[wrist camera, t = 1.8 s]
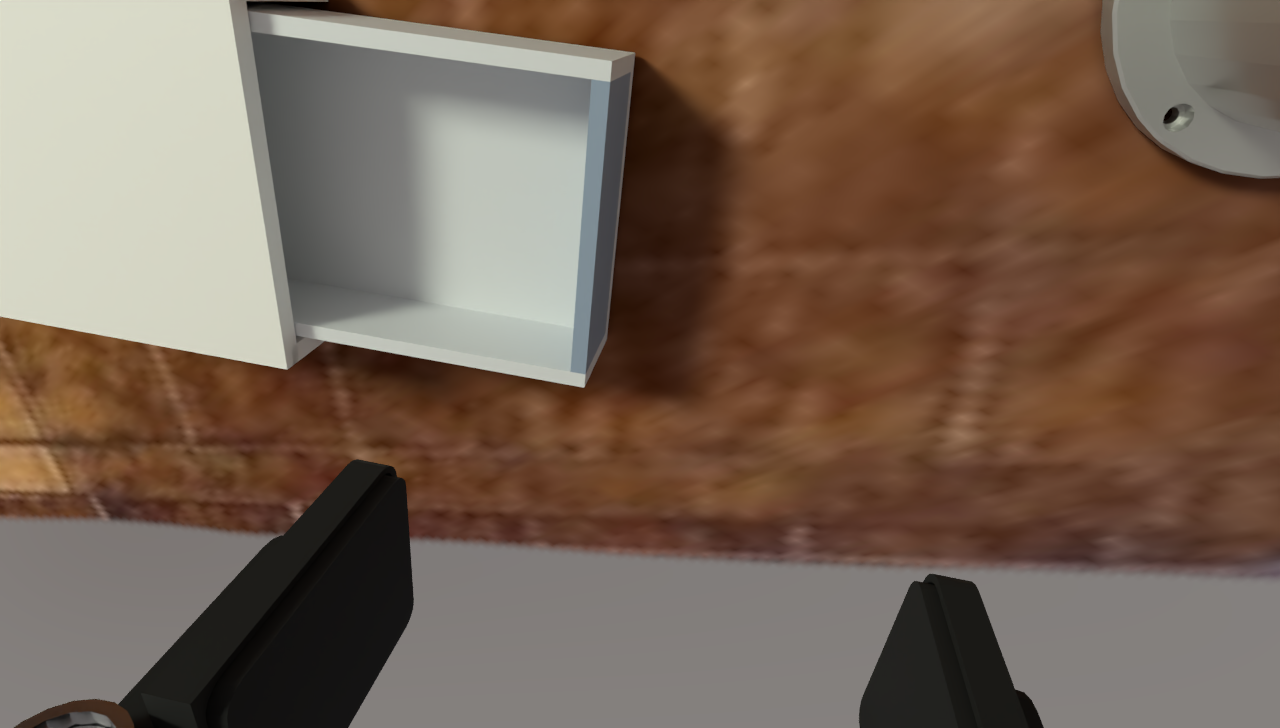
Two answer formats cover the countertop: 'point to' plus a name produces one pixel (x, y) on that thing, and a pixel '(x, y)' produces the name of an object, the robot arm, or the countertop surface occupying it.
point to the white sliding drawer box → (445, 187)
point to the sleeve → (141, 178)
